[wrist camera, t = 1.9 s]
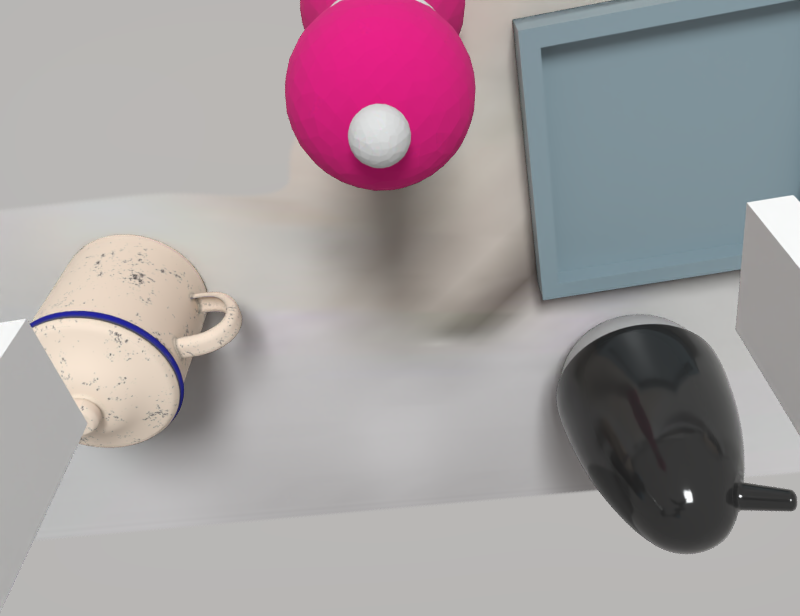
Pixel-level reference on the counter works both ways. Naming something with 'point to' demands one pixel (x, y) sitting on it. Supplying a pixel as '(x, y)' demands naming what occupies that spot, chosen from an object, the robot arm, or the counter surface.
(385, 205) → the counter surface
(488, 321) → the counter surface
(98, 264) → the teacup with lid
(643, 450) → the black rounded piece
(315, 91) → the pepper mill
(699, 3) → the tray
